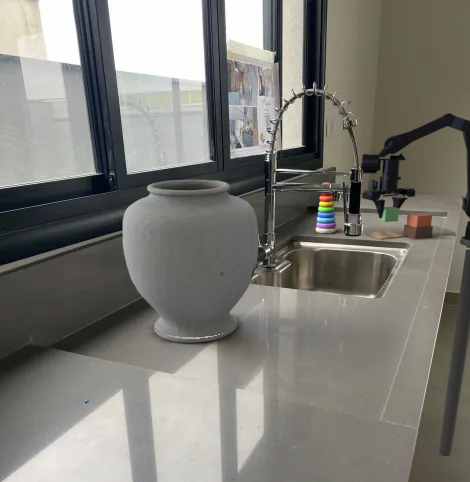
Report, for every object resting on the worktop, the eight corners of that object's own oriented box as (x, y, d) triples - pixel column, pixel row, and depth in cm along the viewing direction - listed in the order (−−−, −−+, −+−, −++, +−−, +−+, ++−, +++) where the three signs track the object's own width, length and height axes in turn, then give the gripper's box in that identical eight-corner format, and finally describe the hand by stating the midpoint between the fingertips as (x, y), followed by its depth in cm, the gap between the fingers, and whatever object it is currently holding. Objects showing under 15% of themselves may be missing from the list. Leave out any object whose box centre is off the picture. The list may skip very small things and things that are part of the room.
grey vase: (274, 311, 113) (273, 176, 102) (234, 362, 90) (228, 193, 79) (169, 301, 122) (158, 175, 111) (108, 345, 99) (87, 191, 88)
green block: (392, 218, 183) (392, 206, 182) (397, 221, 179) (399, 208, 177) (379, 219, 183) (379, 207, 181) (384, 222, 178) (385, 209, 176)
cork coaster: (389, 231, 190) (389, 230, 189) (405, 236, 181) (405, 235, 181) (366, 233, 187) (366, 232, 187) (381, 239, 178) (381, 238, 178)
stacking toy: (320, 229, 197) (321, 180, 191) (339, 230, 193) (341, 181, 187) (312, 233, 191) (313, 183, 184) (332, 234, 187) (334, 183, 180)
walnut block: (419, 233, 184) (420, 222, 183) (431, 237, 178) (432, 226, 177) (403, 235, 183) (404, 224, 181) (414, 239, 176) (416, 228, 175)
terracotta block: (420, 223, 182) (421, 212, 181) (431, 226, 177) (432, 215, 176) (406, 224, 181) (407, 213, 179) (416, 227, 175) (417, 216, 174)
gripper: (399, 170, 186) (396, 212, 191) (355, 173, 181) (353, 216, 186) (418, 172, 176) (414, 216, 181) (372, 175, 171) (369, 221, 176)
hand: (387, 217), depth 181 cm, fingers closed on green block, 5 cm apart
